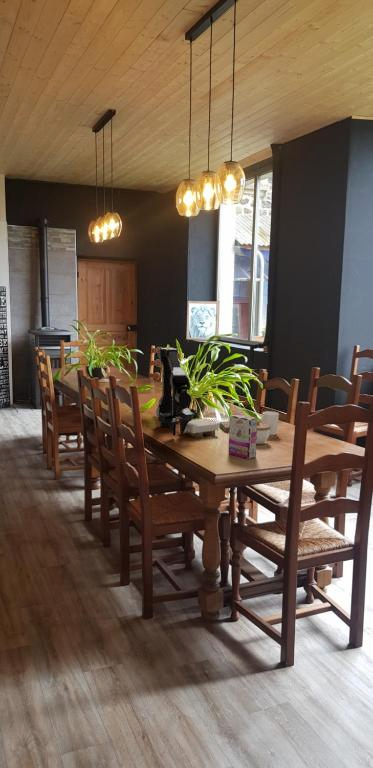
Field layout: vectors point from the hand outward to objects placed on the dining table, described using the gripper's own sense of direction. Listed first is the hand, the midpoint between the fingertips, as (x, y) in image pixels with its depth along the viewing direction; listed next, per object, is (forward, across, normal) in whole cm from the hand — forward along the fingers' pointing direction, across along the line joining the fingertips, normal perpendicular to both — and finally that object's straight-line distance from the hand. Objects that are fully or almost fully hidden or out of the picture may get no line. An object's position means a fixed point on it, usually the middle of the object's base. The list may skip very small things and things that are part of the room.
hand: (178, 435), depth 262 cm
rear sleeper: (+2, +15, 0) cm, 15 cm away
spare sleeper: (+2, +29, 0) cm, 29 cm away
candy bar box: (+1, +4, -38) cm, 38 cm away
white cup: (+2, +41, -18) cm, 45 cm away
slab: (-1, +12, 0) cm, 12 cm away
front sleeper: (+2, +9, 0) cm, 10 cm away
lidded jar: (+2, +25, -26) cm, 36 cm away
